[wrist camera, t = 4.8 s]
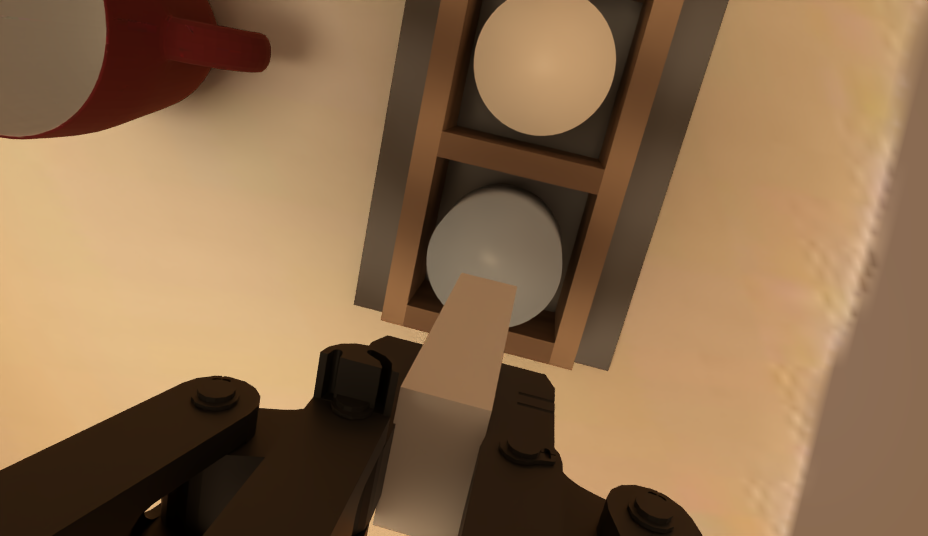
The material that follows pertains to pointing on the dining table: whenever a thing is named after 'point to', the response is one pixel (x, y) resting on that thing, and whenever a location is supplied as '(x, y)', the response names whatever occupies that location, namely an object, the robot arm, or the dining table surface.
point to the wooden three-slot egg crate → (535, 167)
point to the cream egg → (544, 64)
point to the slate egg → (499, 247)
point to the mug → (109, 61)
